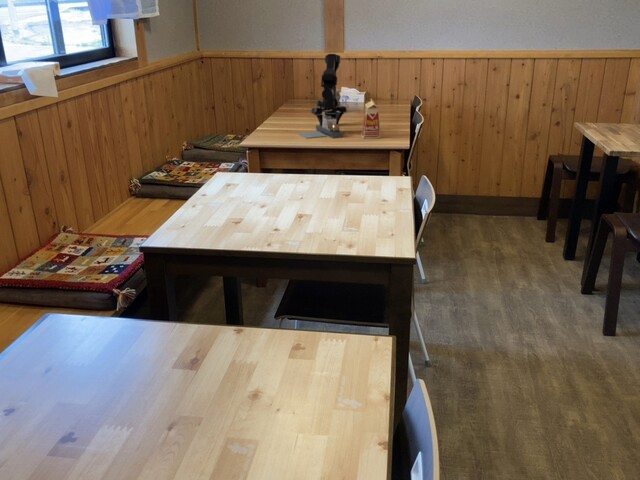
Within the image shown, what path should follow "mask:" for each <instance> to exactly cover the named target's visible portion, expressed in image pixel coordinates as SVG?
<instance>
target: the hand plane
mask: <svg viewBox="0 0 640 480" xmlns="http://www.w3.org/2000/svg"><path fill="white" fill-rule="evenodd" d="M339 125H340V124H339V123H338V124H332V129H327V128H325V127H323V126H322V127H321V126H320V124H316V125H315V131H318V132H321V133H323V134H325V135H327V137H330V138H331V139H338V138H343V133H344V132H343V131H342V130H341V129H340V126H339Z"/></svg>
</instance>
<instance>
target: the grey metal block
mask: <svg viewBox="0 0 640 480" xmlns="http://www.w3.org/2000/svg"><path fill="white" fill-rule="evenodd" d="M332 124H336V119H335V118H333V117H331V116H330V115H323V122H322V126H323V127H325V128H327V129H332Z"/></svg>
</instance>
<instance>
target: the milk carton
mask: <svg viewBox="0 0 640 480" xmlns="http://www.w3.org/2000/svg"><path fill="white" fill-rule="evenodd" d="M364 105H365V107H364V117H363V124H362V125H363V126H362V129H361V134H360V136H361V137H362V138H363V139H371V140H373V139H374V140H375V139H380V138H381V125H380V124H381V123H380V121H381V120H380V112H379V107H378V106H377V105H376V103H375V102H374V99H372V98H370V101H368V102H367V103H365V104H364Z"/></svg>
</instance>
